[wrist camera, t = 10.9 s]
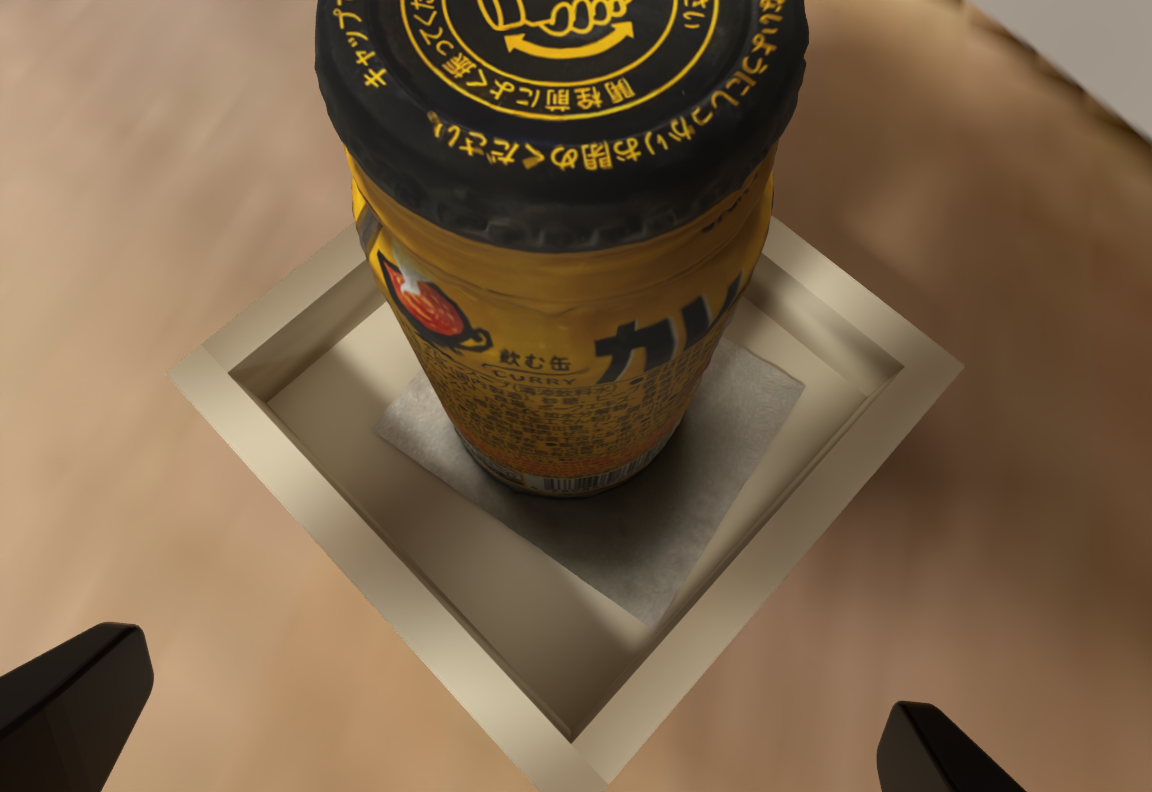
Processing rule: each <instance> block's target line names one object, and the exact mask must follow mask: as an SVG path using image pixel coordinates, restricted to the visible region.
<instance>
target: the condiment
mask: <svg viewBox="0 0 1152 792" xmlns="http://www.w3.org/2000/svg"><path fill="white" fill-rule="evenodd" d="M808 44H809V28H808V23H807V19H806V14H805V7H804V0H318V4H317V12H316V29H315V54H316V55H315V71H316V74H317V77H318V82H319V89H320V91H321V94H322V96H323V99H324V101H325V103H326V107H327V112H328V115H329V117H330V120H331V122H332V124H333V126H334V128H335V130H336V132H337V133H338V135H339V137H340V139H341V141H342V142H343V143H344V149H345V152H346V155H347V158H348V165H349V168H350V170H351V172H352V174H353V177H352V211H353V215H354V219H355V226H356V230H357V232H358V235H359V240H360V245H361V247H362V249H363V251H364V254H365V256H366V260H367V263H368V264H369V266H370V268H371V270H372V272H373V277H374V280H375V283H376V285H377V287H378V289H379V290H380V291H381V292H382V293H383V295H384V297H385V299H386V301H387V302H388V304H389V305H390V307H391V309H392V311H393V313H394V315H395V317H396V319H397V321H398V322H399V324H400V326H401V328H402V330H403V332H404V334H405V336H406V338H407V340H408V342H409V343H410V345H411V347H412V349H413V351H414V353H415V355H416V357H417V359H418V361H419V363H420V365H421V367H422V369H421V370H420V371H419V372H418V373H417V374H416V375H415V377H414V378H413V379H412V380H411V381H410V382H409V383H408V384H407V386H406V387H405V388H404V390H403V391H402V392H401V393H400V394H399V396H398V397H397V398H396V399H395V400H394V401H393V403H392V404H391V405H390V406H389V407H388V409H387V410H386V411H385V412H384V414H383V415H382V416H381V417H380V419H379V420H378V421H377V422H376V424H375V425H374V426H373V427H372V430H373V431H375V432H376V433H377V434H379V435H380V436H382V437H383V438H384V439H386V440H387V441H389V442H390V443H391V444H393V445H394V446H396V447H397V448H398V449H400V450H401V451H402V452H404V453H405V454H407V455H408V456H409V457H411V458H412V459H414V460H415V461H416V462H418V463H419V464H421V465H422V466H423V467H425V468H426V469H428V470H429V471H430V472H432V473H433V474H435V475H436V476H438V477H439V478H441V479H442V480H443V481H445V482H446V483H447V484H449V485H450V486H451V487H453V488H454V489H455V490H457V491H458V492H460V493H461V494H462V495H464V496H465V497H467V498H468V499H469V500H471V501H472V502H474V503H475V504H477V505H478V506H480V507H481V508H482V509H484V510H485V511H486V512H488V513H489V514H491V515H492V516H493V517H495V518H496V519H498V520H499V521H501V522H502V523H503V524H505V525H506V526H507V527H508V528H510V529H512V530H513V531H515V532H516V533H517V534H519V535H520V536H522V537H523V538H525V539H526V540H528V541H529V542H530V543H532V544H533V545H535V546H536V547H538V548H539V549H541V550H542V551H543V552H544V553H546V554H547V555H548V556H550V557H551V558H553V559H554V560H555V561H557V562H558V563H560V564H561V565H562V566H563V567H565V568H566V569H568V570H569V571H571V572H572V573H573V574H575V575H576V576H578V577H579V578H580V579H581V580H583V581H584V582H586V583H587V584H589V585H590V586H592V587H593V588H595V589H596V590H597V591H599V592H600V593H602V594H603V595H605V596H606V597H608V598H609V599H611V600H612V601H613V602H615V603H616V604H618V605H619V606H620V607H622V608H623V609H624V610H626V611H627V612H629V613H630V614H631V615H633V616H634V617H636V618H637V619H638V620H640V621H641V622H643V623H644V624H645V625H647V626H648V627H650V628H651V629H652V630H655V628H656V627H657V625H658V624H659V622H660V620H661V619H662V617H663V615H664V614H665V612H666V611H667V609H668V607H669V606H670V604H671V602H672V600H673V599H674V597H675V596H676V594H677V592H678V591H679V589H680V587H681V586H682V584H683V583H684V581H685V579H686V578H687V576H688V575H689V573H690V571H691V570H692V568H693V566H694V565H695V563H696V562H697V560H698V558H699V557H700V555H701V554H702V552H703V550H704V548H705V547H706V545H707V544H708V542H709V541H710V539H711V538H712V536H713V534H714V532H715V531H716V529H717V527H718V526H719V524H720V522H721V521H722V519H723V518H724V516H725V515H726V513H727V512H728V510H729V508H730V507H731V505H732V504H733V502H734V500H735V499H736V497H737V496H738V494H739V492H740V491H741V489H742V487H743V484H744V483H745V482H746V481H747V480H748V478H749V476H750V475H751V473H752V472H753V470H754V468H755V467H756V465H757V464H758V462H759V460H760V458H761V457H762V456H763V454H764V453H765V451H766V449H767V448H768V446H769V445H770V443H771V441H772V440H773V438H774V436H775V435H776V433H777V431H778V430H779V428H780V426H781V425H782V423H783V422H784V421H785V419H786V417H787V416H788V414H789V413H790V411H791V409H792V408H793V406H794V405H795V403H796V401H797V400H798V398H799V396H800V395H801V393H802V392H803V390H804V389H805V387H804V386H802V385H801V384H799V383H798V382H796V381H794V380H793V379H791V378H789V377H788V376H786V375H785V374H784V373H782V372H781V371H779V370H778V369H776V368H774V367H773V366H771V365H769V364H767V363H765V362H763V361H761V360H759V359H758V358H756V357H755V356H753V355H752V354H750V353H749V352H748V351H746V350H745V349H744V348H742V347H741V346H739V345H737V344H735V343H733V342H731V341H729V340H727V339H725V338H724V337H722V335H723V332H724V330H725V328H726V327H727V326H728V325H729V324H730V323H731V321H732V318H733V316H734V313H735V311H736V309H737V307H738V304H739V301H740V300H741V298H742V297H743V295H744V293H745V292H746V290H747V288H748V286H749V285H750V282H751V278H752V274H753V271H754V268H755V266H756V264H757V262H758V260H759V257H760V255H761V252H762V250H763V247H764V244H765V241H766V238H767V235H768V231H769V225H770V219H771V211H772V207H773V197H774V191H773V176H774V174H773V171H772V168H773V164H774V157H775V154H776V151H777V146H778V141H779V138H780V137H781V135H782V134H783V132H784V130H785V128H786V127H787V125H788V123H789V121H790V119H791V117H792V115H793V113H794V111H795V108H796V105H797V100H798V91H799V89H800V87H801V85H802V82H803V76H804V71H805V67H806V61H805V59H804V54H805V51H806V49H807V46H808ZM692 411H693V412H692Z"/></svg>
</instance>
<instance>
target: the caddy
mask: <svg viewBox="0 0 1152 792" xmlns="http://www.w3.org/2000/svg"><path fill="white" fill-rule="evenodd" d="M722 337H724V338H725V339H727V340H729V341H731V342H733V343H735V344H737V345H739V346H741V347H742V348H744V349H745V350H746V351H748V352H749V353H750V354H752V355H753V356H755V357H756V358H758V359H759V360H761V361H763V362H765V363H767V364H769V365H771V366H773V367H774V368H776V369H778V370H779V371H781V372H782V373H784V374H785V375H786V376H788V377H789V378H791V379H793V380H794V381H796V382H798V383H799V384H801V385H802V386H804V387H805V389H804V390H803V392H802V393H801V395H800V396H799V398H798V400H797V401H796V403H795V405H794V406H793V408H792V409H791V411H790V413H789V414H788V416H787V417H786V419H785V421H784V422H783V423H782V425H781V426H780V428H779V430H778V431H777V433H776V435H775V436H774V438H773V440H772V441H771V443H770V445H769V446H768V448H767V449H766V451H765V453H764V454H763V456H762V457H761V458H760V460H759V462H758V464H757V465H756V467H755V468H754V470H753V472H752V473H751V475H750V476H749V478H748V480H747V481H746V482H745V483H744V484H743V487H742V489H741V491H740V492H739V494H738V496H737V497H736V499H735V500H734V502H733V504H732V505H731V507H730V508H729V510H728V512H727V513H726V515H725V516H724V518H723V519H722V521H721V522H720V524H719V526H718V527H717V529H716V531H715V532H714V534H713V536H712V538H711V539H710V541H709V542H708V544H707V545H706V547H705V548H704V550H703V552H702V554H701V555H700V557H699V558H698V560H697V562H696V563H695V565H694V566H693V568H692V570H691V571H690V573H689V575H688V576H687V578H686V579H685V581H684V583H683V584H682V586H681V587H680V589H679V591H678V592H677V594H676V596H675V597H674V599H673V600H672V602H671V604H670V606H669V607H668V609H667V611H666V612H665V614H664V615H663V617H662V619H661V620H660V622H659V624H658V625H657V627H656V628H655V630H652V629H651V628H650V627H648V626H647V625H645V624H644V623H643V622H641V621H640V620H638V619H637V618H636V617H634V616H633V615H631V614H630V613H629V612H627V611H626V610H624V609H623V608H622V607H620V606H619V605H618V604H616V603H615V602H613V601H612V600H611V599H609V598H608V597H606V596H605V595H603V594H602V593H600V592H599V591H597V590H596V589H595V588H593V587H592V586H590V585H589V584H587V583H586V582H584V581H583V580H581V579H580V578H579V577H578V576H576V575H575V574H573V573H572V572H571V571H569V570H568V569H566V568H565V567H563V566H562V565H561V564H560V563H558V562H557V561H555V560H554V559H553V558H551V557H550V556H548V555H547V554H546V553H544V552H543V551H542V550H541V549H539V548H538V547H536V546H535V545H533V544H532V543H530V542H529V541H528V540H526V539H525V538H523V537H522V536H520V535H519V534H517V533H516V532H515V531H513V530H512V529H510V528H508V527H507V526H506V525H505V524H503V523H502V522H501V521H499V520H498V519H496V518H495V517H493V516H492V515H491V514H489V513H488V512H486V511H485V510H484V509H482V508H481V507H480V506H478V505H477V504H475V503H474V502H472V501H471V500H469V499H468V498H467V497H465V496H464V495H462V494H461V493H460V492H458V491H457V490H455V489H454V488H453V487H451V486H450V485H449V484H447V483H446V482H445V481H443V480H442V479H441V478H439V477H438V476H436V475H435V474H433V473H432V472H430V471H429V470H428V469H426V468H425V467H423V466H422V465H421V464H419V463H418V462H416V461H415V460H414V459H412V458H411V457H409V456H408V455H407V454H405V453H404V452H402V451H401V450H400V449H398V448H397V447H396V446H394V445H393V444H391V443H390V442H389V441H387V440H386V439H384V438H383V437H382V436H380V435H379V434H377V433H376V432H375V431H373V430H372V427H373V426H374V425H375V424H376V422H377V421H378V420H379V419H380V417H381V416H382V415H383V414H384V412H385V411H386V410H387V409H388V407H389V406H390V405H391V404H392V403H393V401H394V400H395V399H396V398H397V397H398V396H399V394H400V393H401V392H402V391H403V390H404V388H405V387H406V386H407V384H408V383H409V382H410V381H411V380H412V379H413V378H414V377H415V375H416V374H417V373H418V372H419V371H420V370H421V369H422V367H421V365H420V363H419V361H418V359H417V357H416V355H415V353H414V351H413V349H412V347H411V345H410V343H409V342H408V340H407V338H406V336H405V334H404V332H403V330H402V328H401V326H400V324H399V322H398V321H397V319H396V317H395V315H394V313H393V311H392V309H391V307H390V305H389V304H388V302H387V301H386V299H385V297H384V295H383V293H382V292H381V291H380V290H379V289H378V287H377V285H376V283H375V280H374V277H373V272H372V270H371V268H370V266H369V264H368V263H367V260H366V256H365V254H364V251H363V249H362V247H361V245H360V240H359V235H358V232H357V230H356V226H355V222H354V223H352V224H351V225H350V226H349V227H347V228H346V229H345V230H344V231H342V232H341V233H340V234H339V235H337V236H336V237H335V238H334V239H332V240H331V241H330V242H329V243H327V244H326V245H325V246H324V247H322V248H321V249H320V250H319V251H317V252H316V253H315V254H314V255H312V256H311V257H310V258H309V259H307V260H306V261H305V262H304V263H302V264H301V265H300V266H299V267H297V268H296V269H295V270H294V271H292V272H291V273H290V274H289V275H287V276H286V277H285V278H284V279H282V280H281V281H280V282H279V283H277V284H276V285H275V286H274V287H272V288H271V289H270V290H269V291H267V292H266V293H265V294H264V295H262V296H261V297H260V298H259V299H257V300H256V301H255V302H254V303H252V304H251V305H250V306H249V307H247V308H246V309H245V310H244V311H242V312H241V313H240V314H239V315H237V316H236V317H235V318H234V319H232V320H231V321H230V322H229V323H227V324H226V325H225V326H224V327H222V328H221V329H220V330H219V331H217V332H216V333H215V334H214V335H212V336H211V337H210V338H209V339H207V340H206V341H205V342H204V343H202V344H201V345H200V346H199V347H197V348H196V349H195V350H194V351H192V352H191V353H190V354H189V355H187V356H186V357H185V358H184V359H182V360H181V361H180V362H179V363H177V364H176V365H175V366H174V367H172V368H171V369H170V370H169V371H167V372H166V373H165V374H166V375H167V376H168V378H169V379H170V380H171V381H172V382H173V383H174V384H175V385H176V387H177V388H178V389H179V390H180V391H181V392H182V393H183V394H184V395H185V397H186V398H187V399H188V400H189V401H190V402H191V403H192V404H193V406H194V407H195V408H196V409H197V410H198V411H199V412H200V413H201V414H202V416H203V417H204V418H205V419H206V420H207V421H208V422H209V423H210V425H211V426H212V427H213V428H214V429H215V430H216V431H217V432H218V433H219V435H220V436H221V437H222V438H223V439H224V440H225V441H226V442H227V443H228V445H229V446H230V447H231V448H232V449H233V450H234V451H235V452H236V454H237V455H238V456H239V457H240V458H241V459H242V460H243V461H244V462H245V464H246V465H247V466H248V467H249V468H250V469H251V470H252V471H253V473H254V474H255V475H256V476H257V477H258V478H259V479H260V480H261V481H262V483H263V484H264V485H265V486H266V487H267V488H268V489H269V490H270V491H271V493H272V494H273V495H274V496H275V497H276V498H277V499H278V500H279V502H280V503H281V504H282V505H283V506H284V507H285V508H286V509H287V510H288V512H289V513H290V514H291V515H292V516H293V517H294V518H295V519H296V521H297V522H298V523H299V524H300V525H301V526H302V527H303V528H304V529H305V531H306V532H307V533H308V534H309V535H310V536H311V537H312V538H313V539H314V541H315V542H316V543H317V544H318V545H319V546H320V547H321V548H322V550H323V551H324V552H325V553H326V554H327V555H328V556H329V557H330V558H331V560H332V561H333V562H334V563H335V564H336V565H337V566H338V567H339V569H340V570H341V571H342V572H343V573H344V574H345V575H346V576H347V577H348V579H349V580H350V581H351V582H352V583H353V584H354V585H355V586H356V587H357V589H358V590H359V591H360V592H361V593H362V594H363V595H364V596H365V598H366V599H367V600H368V601H369V602H370V603H371V604H372V605H373V606H374V608H375V609H376V610H377V611H378V612H379V613H380V614H381V615H382V617H383V618H384V619H385V620H386V621H387V622H388V623H389V624H390V625H391V627H392V628H393V629H394V630H395V631H396V632H397V633H398V634H399V636H400V637H401V638H402V639H403V640H404V641H405V642H406V643H407V644H408V646H409V647H410V648H411V649H412V650H413V651H414V652H415V653H416V654H417V656H418V657H419V658H420V659H421V660H422V661H423V662H424V663H425V665H426V666H427V667H428V668H429V669H430V670H431V671H432V672H433V673H434V675H435V676H436V677H437V678H438V679H439V680H440V681H441V682H442V684H443V685H444V686H445V687H446V688H447V689H448V690H449V691H450V692H451V694H452V695H453V696H454V697H455V698H456V699H457V700H458V701H459V702H460V704H461V705H462V706H463V707H464V708H465V709H466V710H467V711H468V713H469V714H470V715H471V716H472V717H473V718H474V719H475V720H476V721H477V723H478V724H479V725H480V726H481V727H482V728H483V729H484V730H485V732H486V733H487V734H488V735H489V736H490V737H491V738H492V739H493V740H494V742H495V743H496V744H497V745H498V746H499V747H500V748H501V749H502V750H503V752H504V753H505V754H506V755H507V756H508V757H509V758H510V759H511V761H512V762H513V763H514V764H515V765H516V766H517V767H518V768H519V769H520V771H521V772H522V773H523V774H524V775H525V776H526V777H527V778H528V780H529V781H530V782H531V783H532V784H533V785H534V786H535V787H536V788H537V790H538V791H539V792H603V791H604V790H605V788H606V787H607V786H608V785H609V784H610V783H611V781H612V780H613V779H614V778H615V777H616V775H617V774H618V773H619V772H620V771H621V770H622V768H623V767H624V766H625V765H626V764H627V763H628V761H629V760H630V759H631V758H632V757H633V756H634V754H635V753H636V752H637V751H638V750H639V749H640V747H641V746H642V745H643V744H644V743H645V741H646V740H647V739H648V738H649V737H650V736H651V734H652V733H653V732H654V731H655V730H656V729H657V727H658V726H659V725H660V724H661V723H662V722H663V720H664V719H665V718H666V717H667V716H668V715H669V713H670V712H671V711H672V710H673V709H674V707H675V706H676V705H677V704H678V703H679V702H680V700H681V699H682V698H683V697H684V696H685V695H686V693H687V692H688V691H689V690H690V689H691V688H692V686H693V685H694V684H695V683H696V682H697V681H698V679H699V678H700V677H701V676H702V675H703V673H704V672H705V671H706V670H707V669H708V668H709V666H710V665H711V664H712V663H713V662H714V661H715V659H716V658H717V657H718V656H719V655H720V654H721V652H722V651H723V650H724V649H725V648H726V647H727V645H728V644H729V643H730V642H731V641H732V639H733V638H734V637H735V636H736V635H737V634H738V632H739V631H740V630H741V629H742V628H743V627H744V625H745V624H746V623H747V622H748V621H749V620H750V618H751V617H752V616H753V615H754V614H755V613H756V611H757V610H758V609H759V608H760V607H761V605H762V604H763V603H764V602H765V601H766V600H767V598H768V597H769V596H770V595H771V594H772V593H773V591H774V590H775V589H776V588H777V587H778V586H779V584H780V583H781V582H782V581H783V580H784V579H785V577H786V576H787V575H788V574H789V573H790V571H791V570H792V569H793V568H794V567H795V566H796V564H797V563H798V562H799V561H800V560H801V559H802V557H803V556H804V555H805V554H806V553H807V552H808V550H809V549H810V548H811V547H812V546H813V545H814V543H815V542H816V541H817V540H818V539H819V538H820V536H821V535H822V534H823V533H824V532H825V530H826V529H827V528H828V527H829V526H830V525H831V523H832V522H833V521H834V520H835V519H836V518H837V516H838V515H839V514H840V513H841V512H842V511H843V509H844V508H845V507H846V506H847V505H848V504H849V502H850V501H851V500H852V499H853V498H854V496H855V495H856V494H857V493H858V492H859V491H860V489H861V488H862V487H863V486H864V485H865V484H866V482H867V481H868V480H869V479H870V478H871V477H872V475H873V474H874V473H875V472H876V471H877V470H878V468H879V467H880V466H881V465H882V464H883V462H884V461H885V460H886V459H887V458H888V457H889V455H890V454H891V453H892V452H893V451H894V450H895V448H896V447H897V446H898V445H899V444H900V443H901V441H902V440H903V439H904V438H905V437H906V436H907V434H908V433H909V432H910V431H911V430H912V428H913V427H914V426H915V425H916V424H917V423H918V421H919V420H920V419H921V418H922V417H923V416H924V414H925V413H926V412H927V411H928V410H929V409H930V407H931V406H932V405H933V404H934V403H935V402H936V400H937V399H938V398H939V397H940V396H941V394H942V393H943V392H944V391H945V390H946V389H947V387H948V386H949V385H950V384H951V383H952V382H953V380H954V379H955V378H956V377H957V376H958V375H959V373H960V372H961V371H962V370H963V369H964V368H965V365H964V364H963V363H961V362H960V361H959V360H958V359H956V358H955V357H954V356H952V355H951V354H950V353H949V352H947V351H946V350H945V349H943V348H942V347H941V346H940V345H938V344H937V343H936V342H934V341H933V340H932V339H931V338H929V337H928V336H927V335H925V334H924V333H923V332H922V331H920V330H919V329H918V328H916V327H915V326H914V325H913V324H911V323H910V322H909V321H907V320H906V319H905V318H904V317H902V316H901V315H900V314H898V313H897V312H896V311H895V310H893V309H892V308H891V307H889V306H888V305H887V304H886V303H884V302H883V301H882V300H880V299H879V298H878V297H877V296H875V295H874V294H873V293H872V292H870V291H869V290H868V289H866V288H865V287H864V286H863V285H861V284H860V283H859V282H857V281H856V280H855V279H854V278H852V277H851V276H850V275H848V274H847V273H846V272H845V271H843V270H842V269H841V268H839V267H838V266H837V265H836V264H834V263H833V262H832V261H830V260H829V259H828V258H827V257H825V256H824V255H823V254H821V253H820V252H819V251H818V250H816V249H815V248H814V247H812V246H811V245H810V244H809V243H807V242H806V241H805V240H803V239H802V238H801V237H800V236H798V235H797V234H796V233H794V232H793V231H792V230H791V229H789V228H788V227H787V226H785V225H784V224H783V223H782V222H780V221H779V220H778V219H776V218H775V217H774V216H773V215H771V219H770V225H769V231H768V235H767V238H766V241H765V244H764V247H763V250H762V252H761V255H760V257H759V260H758V262H757V264H756V266H755V268H754V271H753V274H752V278H751V282H750V285H749V286H748V288H747V290H746V292H745V293H744V295H743V297H742V298H741V300H740V301H739V304H738V307H737V309H736V311H735V313H734V316H733V318H732V321H731V323H730V324H729V325H728V326H727V327H726V328H725V330H724V332H723V335H722ZM692 412H693V411H692Z"/></svg>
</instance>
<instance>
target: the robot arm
mask: <svg viewBox="0 0 1152 792" xmlns="http://www.w3.org/2000/svg"><path fill="white" fill-rule="evenodd" d="M153 682H154V673H153V668H152V664H151V660H150V656H149V652H148V647H147V643H146V639H145V635H144V632H143V630H142V629H141V628H140V627H139V626H138V625H135V624H127V623H117V622H103V623H100V624H98V625H96V626H94V627H92V628H90V629H88V630H86V631H84V632H82V633H81V634H79V635H77V636H75V637H73V638H71V639H69V640H68V641H66V642H64V643H62V644H60V645H58V646H56V647H55V648H53V649H51V650H49V651H47V652H45V653H43V654H42V655H40V656H38V657H36V658H34V659H32V660H30V661H29V662H27V663H25V664H23V665H21V666H19V667H17V668H16V669H14V670H12V671H10V672H8V673H6V674H5V675H3V676H1V677H0V792H101V791H102V789H103V787H104V785H105V783H106V781H107V779H108V777H109V775H110V773H111V771H112V769H113V767H114V765H115V763H116V761H117V759H118V757H119V755H120V753H121V751H122V749H123V747H124V745H125V743H126V741H127V739H128V737H129V735H130V733H131V731H132V730H133V728H134V726H135V724H136V722H137V720H138V718H139V716H140V714H141V712H142V710H143V708H144V706H145V704H146V702H147V700H148V698H149V696H150V693H151V690H152V687H153ZM877 770H878V775H879V780H880V785H881V790H882V792H1026V791H1025V790H1024V789H1023V788H1022V787H1021V786H1020V785H1019V784H1018V783H1017V782H1016V781H1015V780H1014V779H1013V778H1012V777H1011V776H1010V775H1008V774H1007V773H1006V772H1005V771H1004V770H1003V769H1002V768H1001V767H1000V766H999V765H998V764H997V763H996V762H995V761H994V760H993V759H992V758H991V757H989V756H988V755H987V754H986V753H985V752H984V751H983V750H982V749H981V748H980V747H979V746H978V745H977V744H976V743H975V742H974V741H973V740H971V739H970V738H969V737H968V736H967V735H966V734H965V733H964V732H963V731H962V730H961V729H960V728H959V727H958V726H957V725H956V724H955V723H953V722H952V721H951V720H950V719H949V718H948V717H947V716H946V715H945V714H944V713H943V712H942V711H941V710H940V709H938V708H937V707H935V706H934V705H932V704H929V703H920V702H910V701H898V702H897V703H896V704H894V705H893V707H892V709H891V712H890V715H889V717H888V720H887V723H886V726H885V728H884V731H883V734H882V737H881V739H880V742H879V745H878V749H877Z"/></svg>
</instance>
